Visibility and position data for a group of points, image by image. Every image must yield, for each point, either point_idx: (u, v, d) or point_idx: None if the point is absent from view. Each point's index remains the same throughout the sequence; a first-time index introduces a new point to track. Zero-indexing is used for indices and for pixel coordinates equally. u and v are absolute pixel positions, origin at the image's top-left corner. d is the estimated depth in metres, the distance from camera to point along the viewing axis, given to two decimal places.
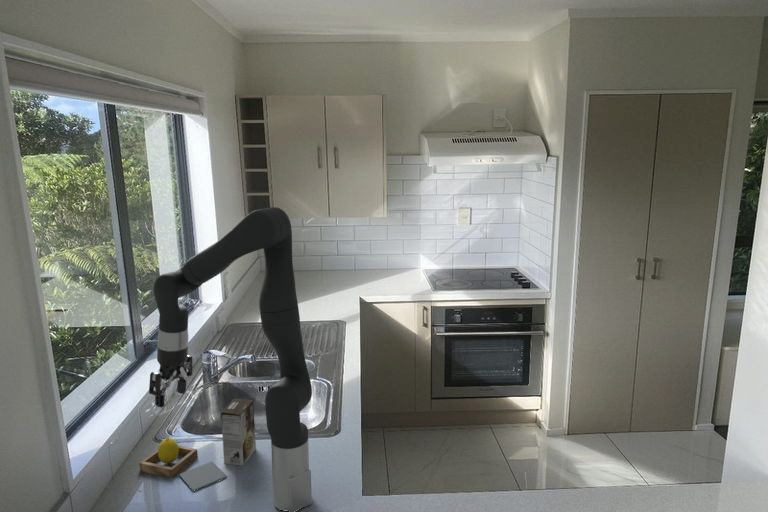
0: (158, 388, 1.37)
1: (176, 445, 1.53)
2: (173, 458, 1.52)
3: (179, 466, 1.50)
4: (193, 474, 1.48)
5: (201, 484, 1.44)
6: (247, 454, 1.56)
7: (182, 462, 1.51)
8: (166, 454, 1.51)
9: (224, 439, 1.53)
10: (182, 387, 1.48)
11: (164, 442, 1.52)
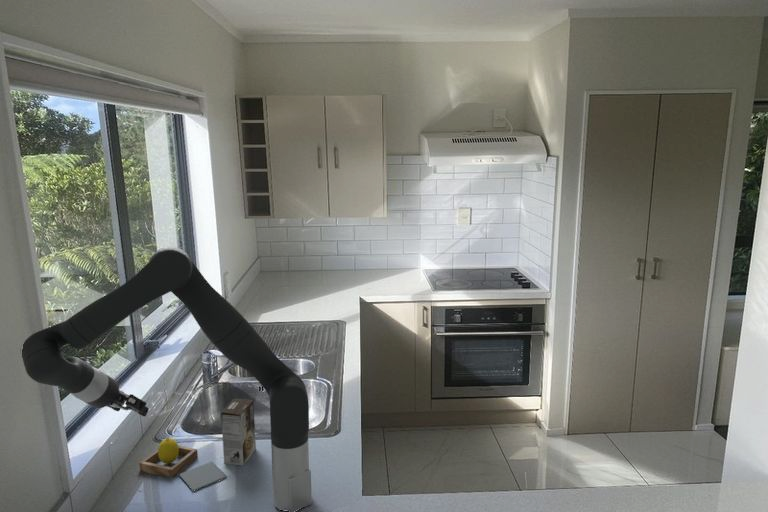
0: None
1: (176, 445, 1.53)
2: (173, 458, 1.52)
3: (179, 466, 1.50)
4: (193, 474, 1.48)
5: (201, 484, 1.44)
6: (247, 454, 1.56)
7: (182, 462, 1.51)
8: (166, 454, 1.51)
9: (224, 439, 1.53)
10: None
11: (164, 442, 1.52)
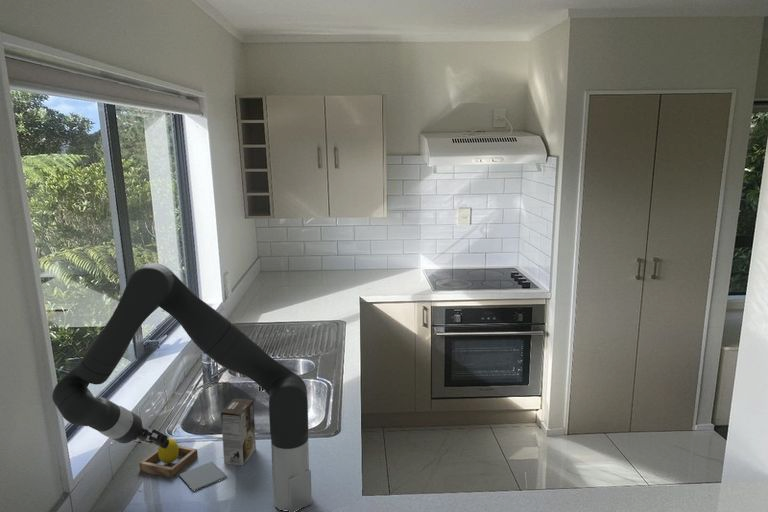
0: (162, 434, 1.41)
1: (176, 445, 1.53)
2: (173, 458, 1.52)
3: (179, 466, 1.50)
4: (193, 474, 1.48)
5: (201, 484, 1.44)
6: (247, 454, 1.56)
7: (182, 462, 1.51)
8: (166, 454, 1.51)
9: (224, 439, 1.53)
10: None
11: None
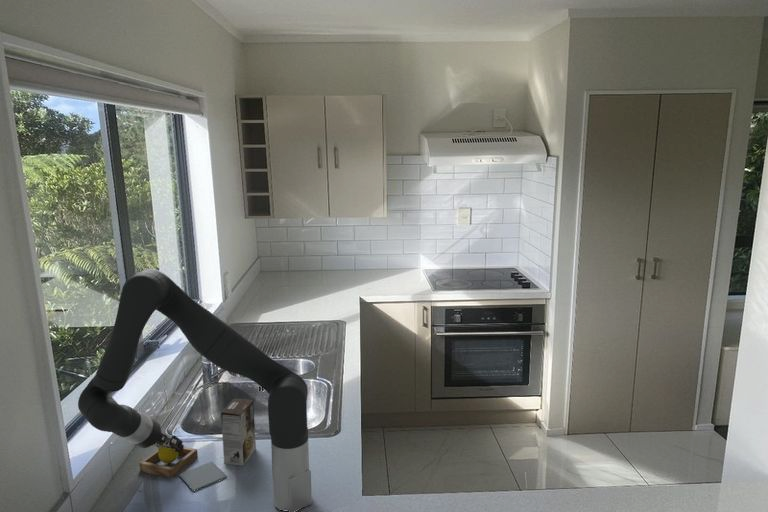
0: None
1: None
2: (173, 458, 1.52)
3: (179, 466, 1.50)
4: (193, 474, 1.48)
5: (201, 484, 1.44)
6: (247, 454, 1.56)
7: (182, 462, 1.51)
8: (166, 454, 1.51)
9: (224, 439, 1.53)
10: None
11: None
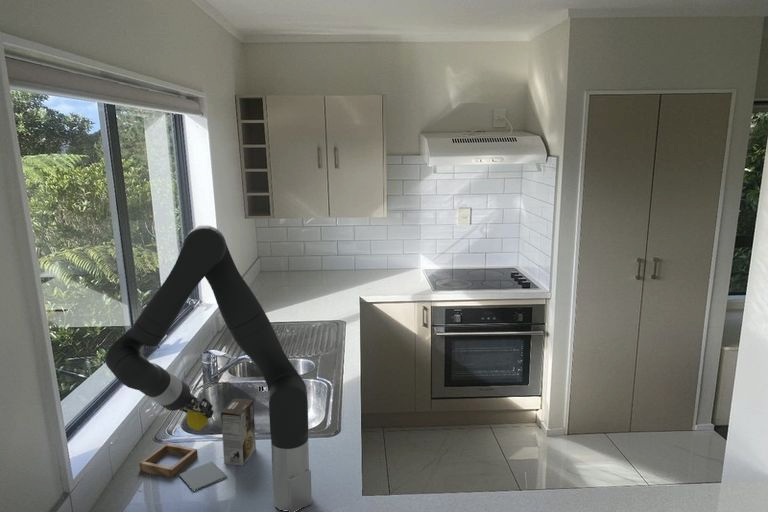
0: None
1: None
2: (202, 424, 1.44)
3: (179, 466, 1.50)
4: (193, 474, 1.48)
5: (201, 484, 1.44)
6: (247, 454, 1.56)
7: (182, 462, 1.51)
8: (195, 420, 1.43)
9: (224, 439, 1.53)
10: None
11: None
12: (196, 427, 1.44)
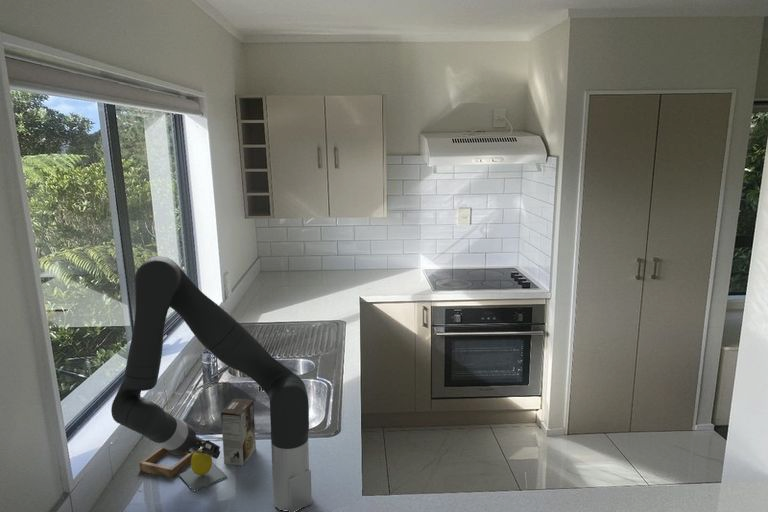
0: None
1: (209, 456, 1.47)
2: (207, 470, 1.46)
3: (179, 466, 1.50)
4: (193, 474, 1.48)
5: (201, 484, 1.44)
6: (247, 454, 1.56)
7: (182, 462, 1.51)
8: (199, 466, 1.45)
9: (224, 439, 1.53)
10: None
11: (197, 453, 1.46)
12: (200, 473, 1.45)
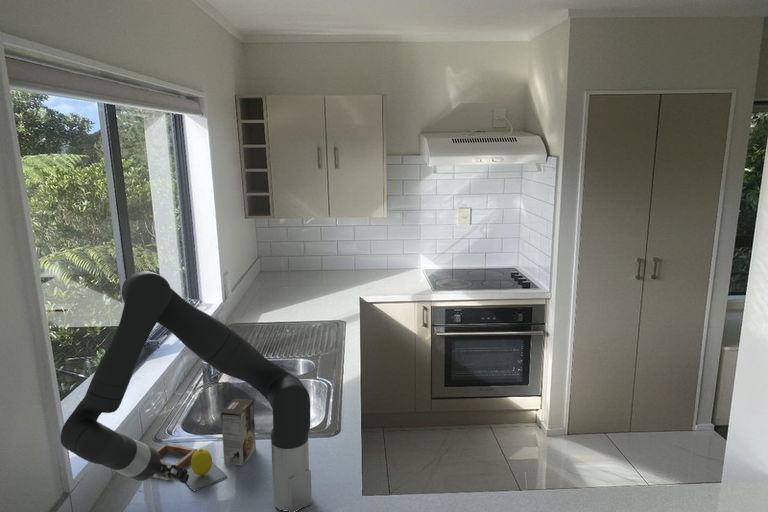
0: (182, 469, 1.29)
1: (209, 456, 1.47)
2: (207, 470, 1.46)
3: (179, 466, 1.50)
4: (193, 474, 1.48)
5: (201, 484, 1.44)
6: (247, 454, 1.56)
7: (182, 462, 1.51)
8: (199, 466, 1.45)
9: (224, 439, 1.53)
10: None
11: (197, 453, 1.46)
12: (200, 473, 1.45)
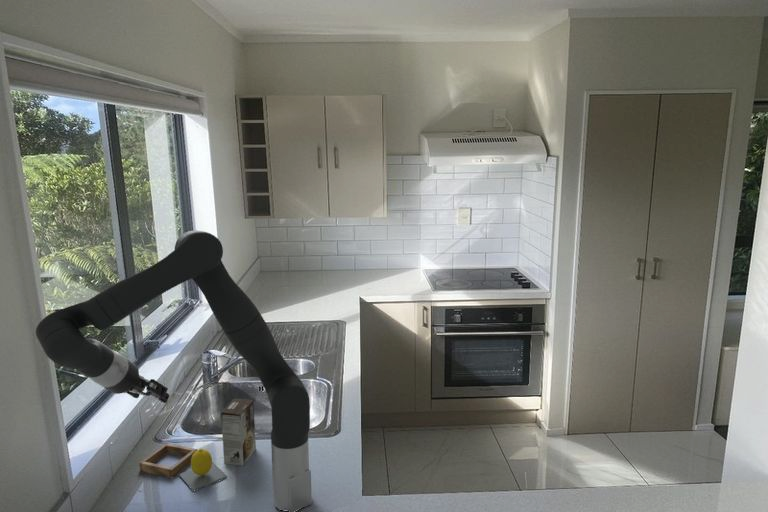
0: None
1: (209, 456, 1.47)
2: (207, 470, 1.46)
3: (179, 466, 1.50)
4: (193, 474, 1.48)
5: (201, 484, 1.44)
6: (247, 454, 1.56)
7: (182, 462, 1.51)
8: (199, 466, 1.45)
9: (224, 439, 1.53)
10: None
11: (197, 453, 1.46)
12: (200, 473, 1.45)
